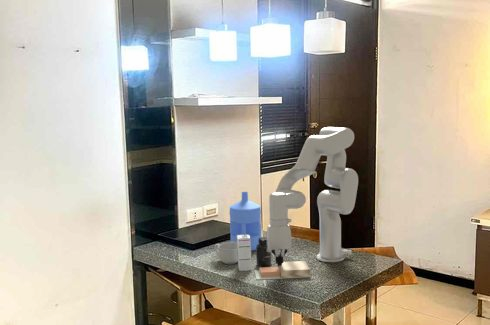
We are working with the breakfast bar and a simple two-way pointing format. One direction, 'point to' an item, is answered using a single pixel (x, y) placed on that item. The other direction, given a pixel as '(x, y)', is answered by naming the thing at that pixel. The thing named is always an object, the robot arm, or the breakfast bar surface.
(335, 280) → the breakfast bar surface
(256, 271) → the mat
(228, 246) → the teacup
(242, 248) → the syrup box
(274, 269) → the tile
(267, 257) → the supplement bottle
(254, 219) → the water jug
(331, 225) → the robot arm
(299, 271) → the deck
